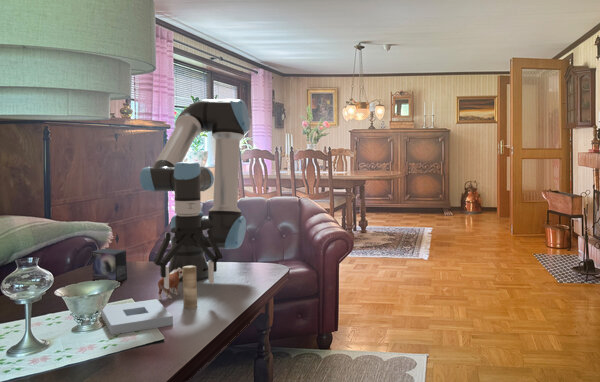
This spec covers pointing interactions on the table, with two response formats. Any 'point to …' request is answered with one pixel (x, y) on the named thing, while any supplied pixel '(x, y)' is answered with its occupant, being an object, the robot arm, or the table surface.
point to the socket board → (136, 316)
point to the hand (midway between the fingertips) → (189, 285)
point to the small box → (109, 264)
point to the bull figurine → (170, 283)
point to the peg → (189, 287)
